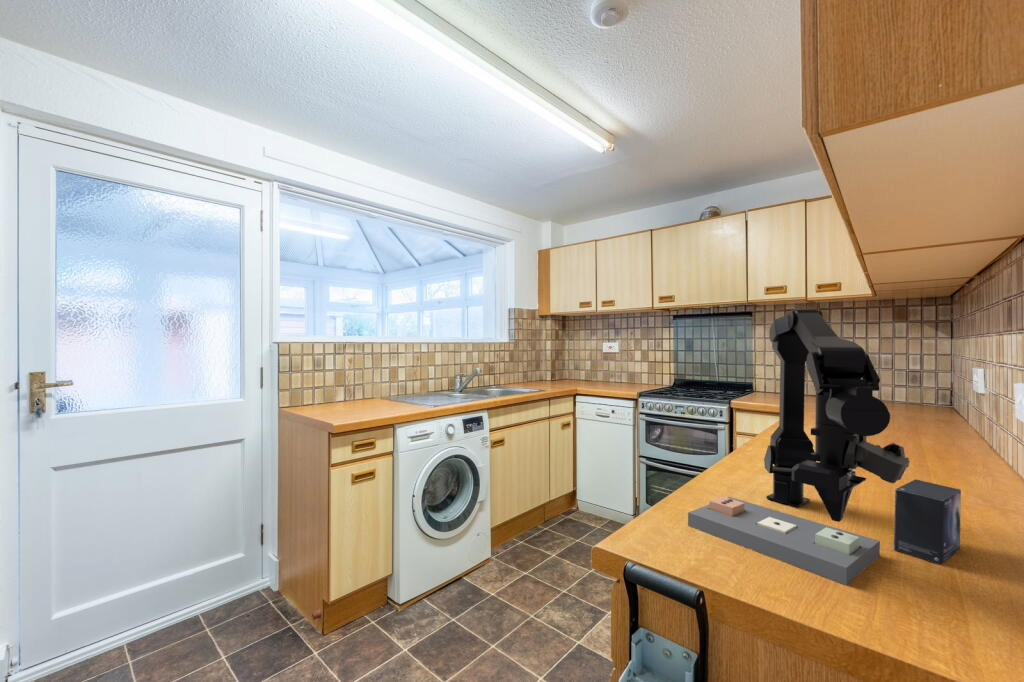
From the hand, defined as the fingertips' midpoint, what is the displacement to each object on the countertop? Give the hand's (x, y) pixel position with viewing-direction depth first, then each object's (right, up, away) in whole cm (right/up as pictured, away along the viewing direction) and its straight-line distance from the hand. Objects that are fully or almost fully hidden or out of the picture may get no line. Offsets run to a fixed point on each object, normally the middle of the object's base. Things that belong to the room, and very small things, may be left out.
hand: (836, 520), depth 70 cm
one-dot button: (-5, -6, +7) cm, 11 cm away
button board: (-5, -6, +7) cm, 11 cm away
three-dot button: (-10, -5, +15) cm, 19 cm away
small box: (+18, -7, +4) cm, 20 cm away
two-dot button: (0, -5, 0) cm, 5 cm away
